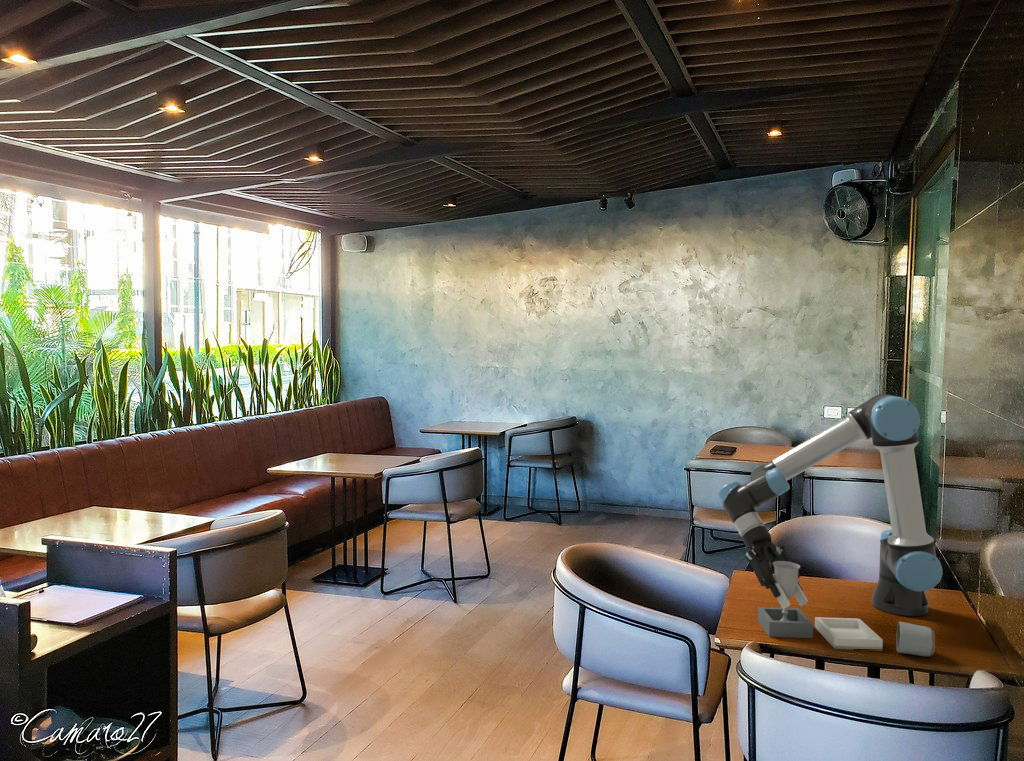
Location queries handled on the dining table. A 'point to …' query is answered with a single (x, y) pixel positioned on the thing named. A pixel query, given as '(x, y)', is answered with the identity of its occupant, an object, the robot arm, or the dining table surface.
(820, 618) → the off-white tray
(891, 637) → the dining table surface
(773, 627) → the charcoal collar
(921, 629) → the ceramic mug
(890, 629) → the dining table surface
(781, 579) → the chalice
